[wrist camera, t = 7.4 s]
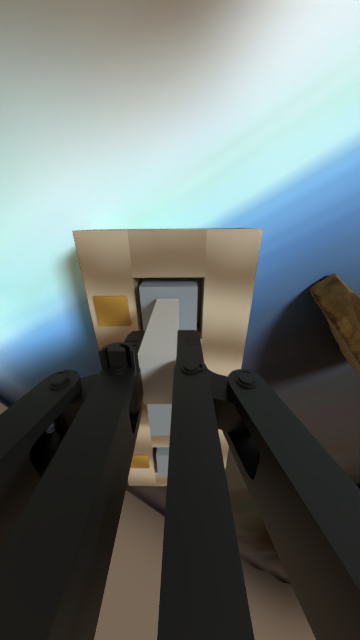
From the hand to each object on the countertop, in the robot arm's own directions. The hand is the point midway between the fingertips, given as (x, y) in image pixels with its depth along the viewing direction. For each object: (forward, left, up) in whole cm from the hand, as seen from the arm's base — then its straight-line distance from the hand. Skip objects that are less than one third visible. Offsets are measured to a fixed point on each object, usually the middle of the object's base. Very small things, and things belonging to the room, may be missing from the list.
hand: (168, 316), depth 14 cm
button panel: (+9, 0, -5) cm, 11 cm away
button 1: (0, 0, -4) cm, 4 cm away
